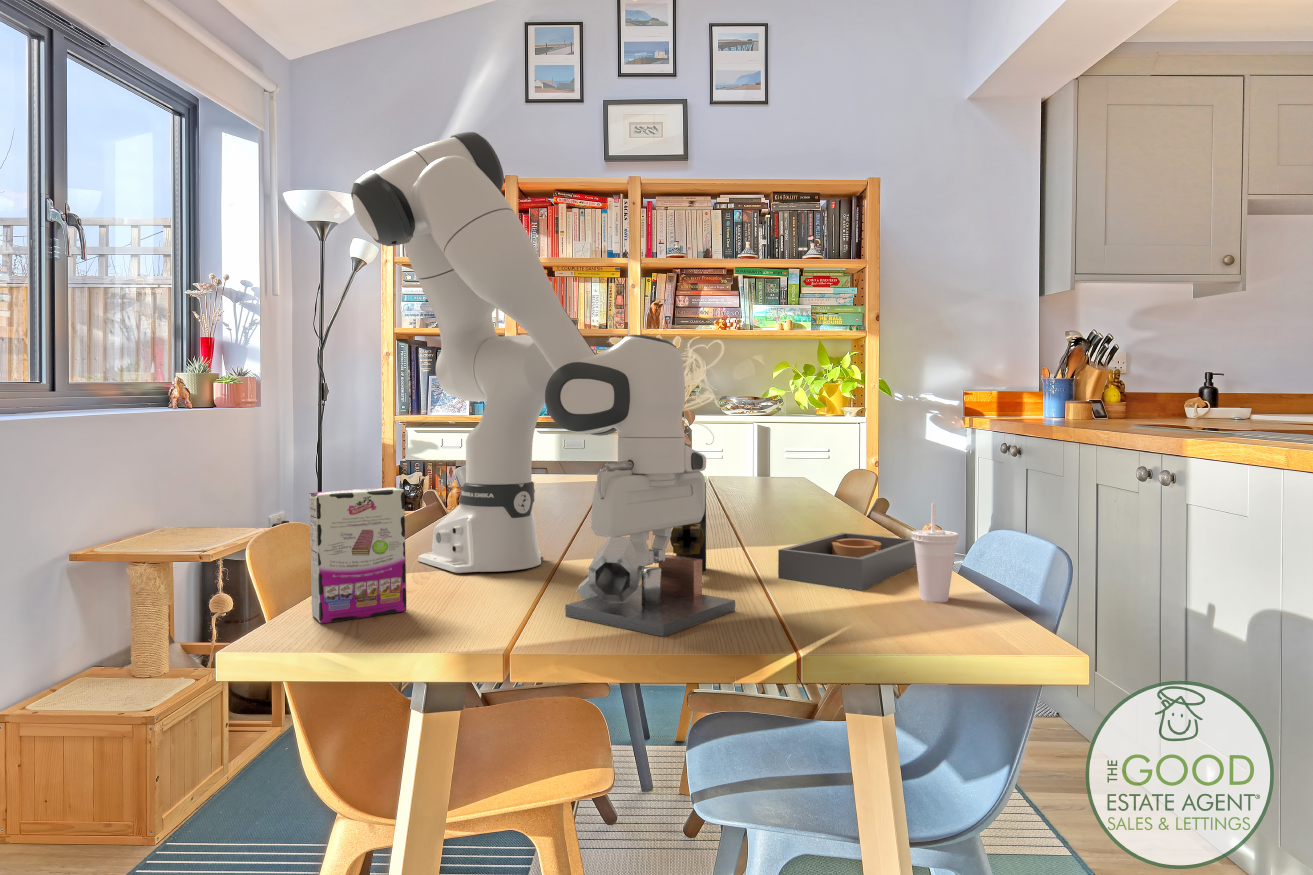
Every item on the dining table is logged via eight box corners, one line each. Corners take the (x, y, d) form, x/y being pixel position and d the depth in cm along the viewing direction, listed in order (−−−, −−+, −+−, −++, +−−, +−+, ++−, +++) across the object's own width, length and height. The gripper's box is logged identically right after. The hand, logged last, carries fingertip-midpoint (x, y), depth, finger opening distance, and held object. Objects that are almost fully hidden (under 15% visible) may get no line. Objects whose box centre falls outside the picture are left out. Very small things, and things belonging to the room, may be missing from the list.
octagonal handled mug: (612, 546, 104) (622, 527, 111) (558, 594, 107) (571, 573, 114) (646, 580, 105) (654, 560, 112) (592, 628, 108) (603, 605, 114)
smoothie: (902, 600, 114) (903, 502, 114) (923, 593, 119) (924, 499, 119) (945, 607, 110) (947, 505, 110) (965, 600, 114) (967, 502, 114)
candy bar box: (395, 604, 111) (394, 486, 110) (407, 612, 107) (406, 489, 106) (309, 616, 104) (307, 490, 104) (318, 624, 100) (317, 493, 100)
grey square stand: (565, 616, 105) (565, 566, 105) (641, 594, 117) (641, 550, 117) (663, 636, 95) (663, 582, 95) (735, 610, 108) (735, 562, 108)
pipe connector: (703, 588, 125) (703, 493, 123) (669, 587, 125) (668, 492, 123) (707, 567, 136) (707, 480, 134) (676, 566, 137) (676, 479, 135)
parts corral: (778, 580, 127) (778, 549, 127) (842, 559, 147) (842, 532, 146) (861, 592, 119) (862, 559, 119) (918, 568, 138) (918, 539, 138)
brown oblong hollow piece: (888, 580, 140) (888, 541, 139) (870, 590, 133) (870, 549, 133) (794, 568, 150) (794, 531, 150) (773, 576, 144) (773, 538, 143)
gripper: (618, 463, 95) (618, 579, 96) (713, 457, 112) (712, 556, 112) (579, 461, 99) (579, 572, 100) (676, 455, 116) (676, 551, 116)
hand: (650, 563), depth 106 cm, fingers closed
